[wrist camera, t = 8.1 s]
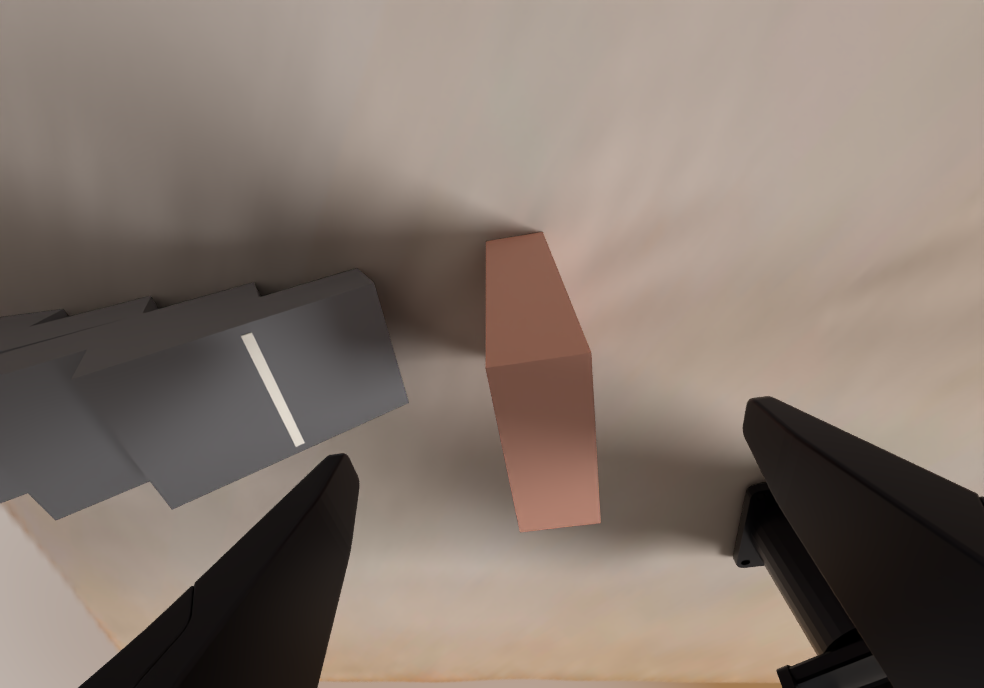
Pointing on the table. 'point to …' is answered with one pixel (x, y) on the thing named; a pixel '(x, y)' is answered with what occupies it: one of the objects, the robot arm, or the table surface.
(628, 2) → the table surface
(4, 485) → the domino
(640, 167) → the table surface
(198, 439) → the domino
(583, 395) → the domino
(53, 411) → the domino
